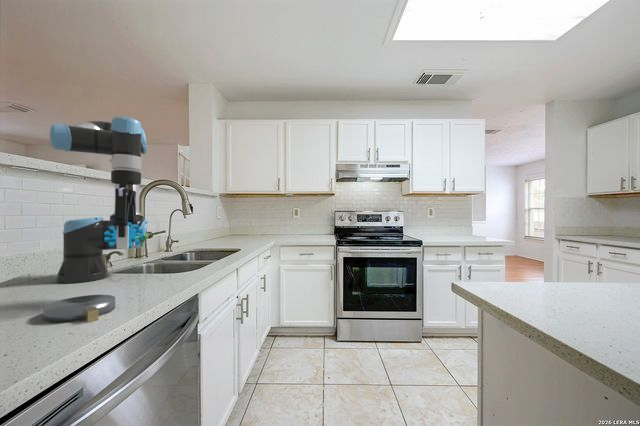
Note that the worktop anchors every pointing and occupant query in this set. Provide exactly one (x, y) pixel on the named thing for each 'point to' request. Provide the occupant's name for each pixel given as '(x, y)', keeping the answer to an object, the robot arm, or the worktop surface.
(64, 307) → the dark grey frying pan
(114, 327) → the worktop surface
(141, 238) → the gear
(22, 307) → the worktop surface
